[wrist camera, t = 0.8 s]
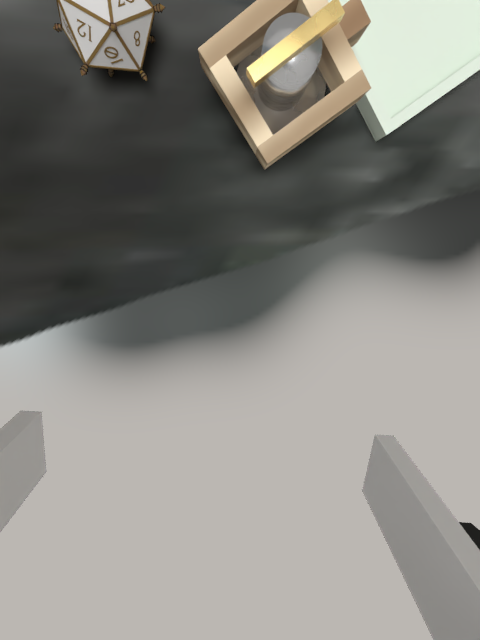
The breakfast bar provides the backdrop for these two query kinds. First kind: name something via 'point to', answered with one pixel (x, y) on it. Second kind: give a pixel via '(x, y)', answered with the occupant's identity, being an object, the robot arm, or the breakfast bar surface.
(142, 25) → the game die
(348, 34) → the tan wooden square frame
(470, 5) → the tray
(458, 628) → the robot arm
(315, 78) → the grey piece
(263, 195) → the breakfast bar surface
